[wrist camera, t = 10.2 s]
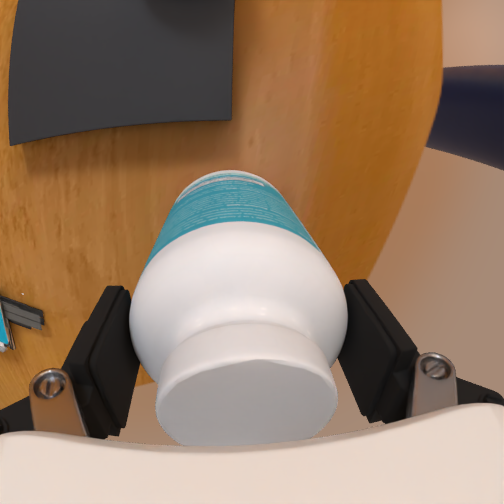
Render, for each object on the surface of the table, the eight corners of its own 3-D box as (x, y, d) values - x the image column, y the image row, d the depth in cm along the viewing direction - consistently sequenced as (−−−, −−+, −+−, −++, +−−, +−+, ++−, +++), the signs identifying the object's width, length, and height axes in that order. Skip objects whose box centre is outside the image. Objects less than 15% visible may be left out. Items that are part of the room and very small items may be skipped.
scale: (244, -68, 11) (248, -91, 8) (238, 120, 16) (242, 120, 14) (36, -30, 10) (15, -42, 7) (21, 143, 15) (-5, 150, 12)
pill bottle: (146, 226, 19) (53, 402, 6) (233, 141, 17) (261, 210, 5) (228, 300, 21) (241, 490, 9) (313, 230, 20) (423, 395, 7)
